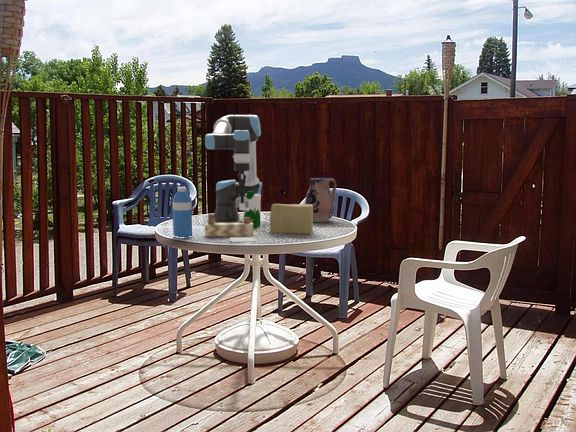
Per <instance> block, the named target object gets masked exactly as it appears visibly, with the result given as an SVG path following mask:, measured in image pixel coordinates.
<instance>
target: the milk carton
mask: <svg viewBox="0 0 576 432" xmlns="http://www.w3.org/2000/svg"><path fill="white" fill-rule="evenodd" d="M261 197H262V194H254V191H247V194H245V199H248V201H249V208H245V210H243V218H244V217H250V223H253V229H258V228H260V227H261V224H262V223H261V221H262V220H261V216H262V215H261V214H262V213H261V199H262V198H261Z"/></svg>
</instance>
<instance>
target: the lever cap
mask: <svg viewBox="0 0 576 432" xmlns="http://www.w3.org/2000/svg"><path fill="white" fill-rule="evenodd" d="M236 208H237V209H239V198H237V199H236ZM245 208H249V201H248V199H245Z"/></svg>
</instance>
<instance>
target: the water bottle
mask: <svg viewBox="0 0 576 432" xmlns="http://www.w3.org/2000/svg"><path fill="white" fill-rule="evenodd" d="M192 207H193V203H192V196H190V194H189V193H188V192H187V187H185V186H177V191H176V193H175V194H174V195H173V197H172V230H173V231H172V232H173V233H172V235H174V236H178V237H189V236H192V237H193V217H192V216H193V213H192V212H193V209H192Z"/></svg>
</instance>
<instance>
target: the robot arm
mask: <svg viewBox="0 0 576 432" xmlns="http://www.w3.org/2000/svg"><path fill="white" fill-rule="evenodd" d="M261 135H262V131H261V123H260V119H259V116H258V115H256V114H228V115H225V116H222V117H220V118H218V119H217V120H216V121H215V122H214V124H213V132H212V133H207V134H205V136H204V145H205V148H206V149H207V150H233V155H232V158H233V162H234V163H233V171H234V172H238V174H237V180H238V181H236V179H228V180H221V181H218V182H217V183H216V186H215V187H216V188H215V195H216V201H215V202H216V203H215V204H216V207H215V210H214V212H213V214H214V222H215V221H216V222H236V221H237V222H238V221H239V220H240V214H239V211H244V210H245V194H247V191H254V194H261V193H262V187H263V183H262V182H261V181H260V179H259V177H258V175H257V143H256V142H257V141H258V140H259V137H261ZM261 195H262V194H261ZM237 198H239V208H236V199H237ZM238 209H239V211H238Z"/></svg>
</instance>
